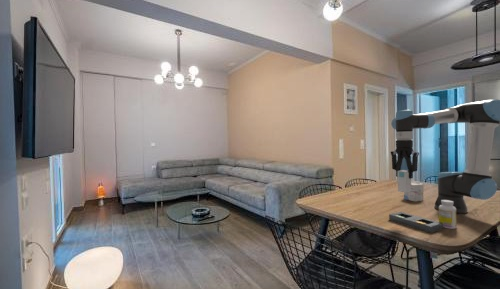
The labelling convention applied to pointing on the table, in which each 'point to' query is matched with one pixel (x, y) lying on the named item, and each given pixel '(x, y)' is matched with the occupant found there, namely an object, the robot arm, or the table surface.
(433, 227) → the panel
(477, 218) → the table surface
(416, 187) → the ink box
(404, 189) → the plug
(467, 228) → the table surface
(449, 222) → the supplement bottle
